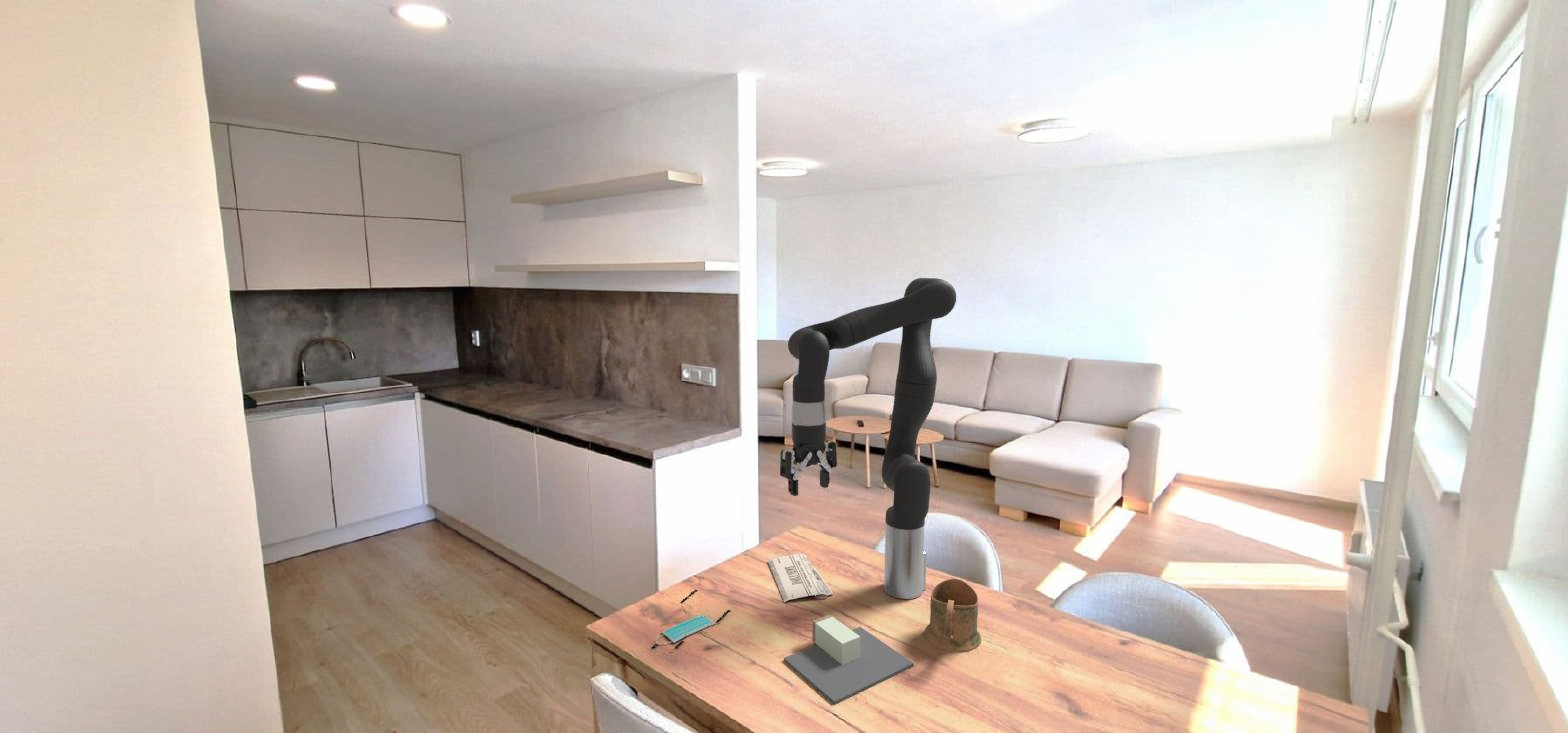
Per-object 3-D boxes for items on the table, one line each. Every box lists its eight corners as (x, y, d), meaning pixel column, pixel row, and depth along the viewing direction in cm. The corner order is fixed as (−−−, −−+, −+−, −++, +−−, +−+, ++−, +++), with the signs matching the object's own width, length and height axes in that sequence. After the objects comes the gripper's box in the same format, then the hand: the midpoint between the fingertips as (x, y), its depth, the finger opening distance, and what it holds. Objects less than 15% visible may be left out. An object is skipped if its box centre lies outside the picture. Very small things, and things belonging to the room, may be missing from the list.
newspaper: (835, 600, 154) (834, 590, 153) (785, 610, 151) (784, 600, 151) (811, 558, 175) (811, 549, 175) (767, 566, 173) (766, 558, 173)
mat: (859, 629, 140) (859, 626, 140) (913, 666, 127) (914, 663, 127) (783, 660, 129) (783, 658, 129) (834, 704, 116) (834, 701, 116)
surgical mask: (696, 587, 151) (733, 595, 147) (696, 604, 152) (734, 613, 147) (642, 631, 132) (684, 642, 128) (643, 651, 133) (684, 662, 129)
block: (842, 643, 125) (812, 620, 134) (842, 665, 126) (812, 640, 134) (860, 636, 128) (829, 614, 136) (860, 657, 129) (829, 634, 137)
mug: (916, 662, 128) (918, 605, 126) (928, 617, 145) (930, 567, 143) (977, 674, 124) (980, 616, 122) (982, 627, 141) (985, 575, 139)
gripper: (823, 412, 149) (823, 480, 151) (772, 421, 141) (773, 493, 143) (844, 418, 143) (844, 489, 145) (793, 428, 135) (793, 502, 137)
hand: (809, 491), depth 144 cm, fingers open, 8 cm apart
